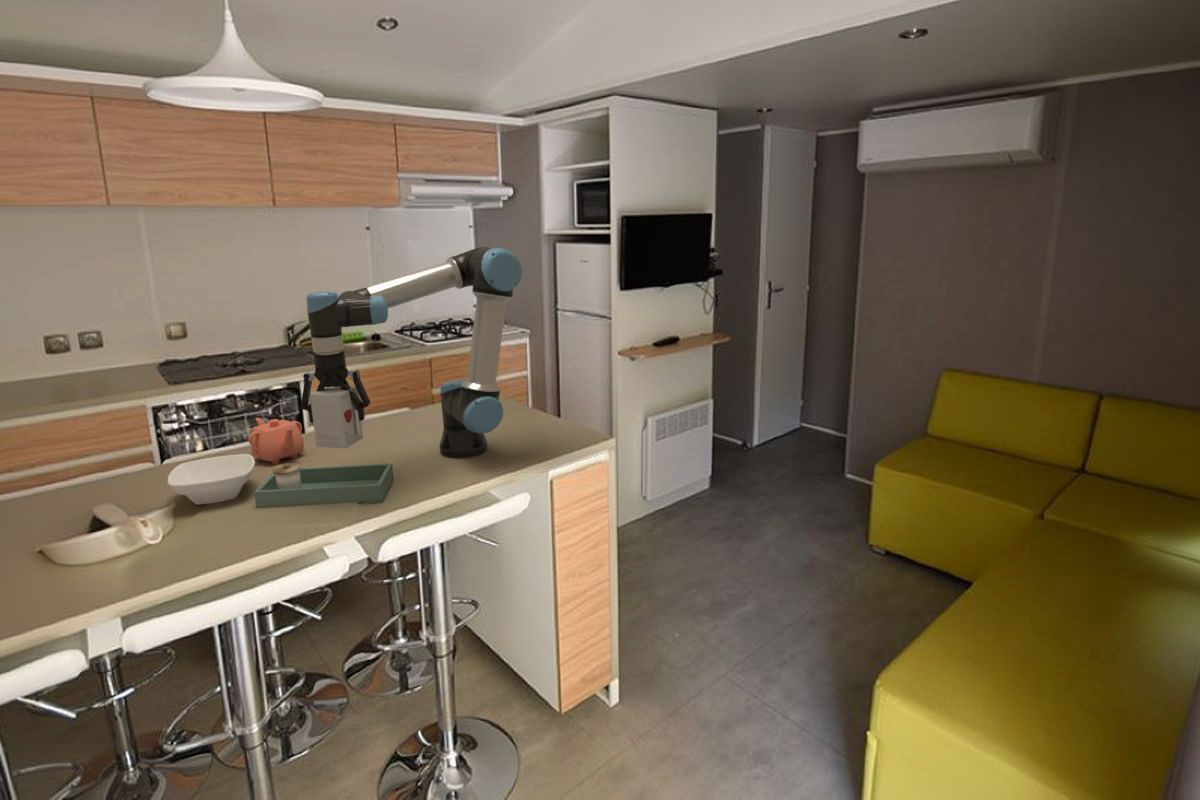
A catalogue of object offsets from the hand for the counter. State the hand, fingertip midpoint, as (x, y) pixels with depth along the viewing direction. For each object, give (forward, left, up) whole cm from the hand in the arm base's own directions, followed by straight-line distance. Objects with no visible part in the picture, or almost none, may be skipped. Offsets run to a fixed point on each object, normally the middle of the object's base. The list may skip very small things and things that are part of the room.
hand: (339, 433), depth 180 cm
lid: (+15, 0, -10) cm, 18 cm away
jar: (+15, 0, -17) cm, 22 cm away
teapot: (+29, -32, -18) cm, 47 cm away
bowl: (+35, -2, -18) cm, 39 cm away
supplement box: (0, 0, -3) cm, 3 cm away
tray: (+5, 0, -17) cm, 18 cm away
